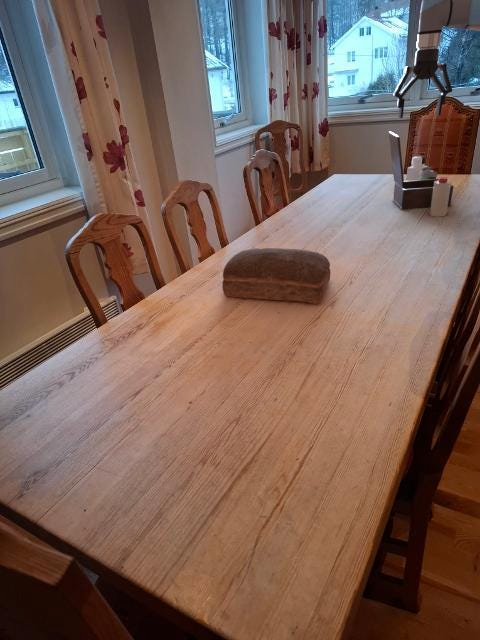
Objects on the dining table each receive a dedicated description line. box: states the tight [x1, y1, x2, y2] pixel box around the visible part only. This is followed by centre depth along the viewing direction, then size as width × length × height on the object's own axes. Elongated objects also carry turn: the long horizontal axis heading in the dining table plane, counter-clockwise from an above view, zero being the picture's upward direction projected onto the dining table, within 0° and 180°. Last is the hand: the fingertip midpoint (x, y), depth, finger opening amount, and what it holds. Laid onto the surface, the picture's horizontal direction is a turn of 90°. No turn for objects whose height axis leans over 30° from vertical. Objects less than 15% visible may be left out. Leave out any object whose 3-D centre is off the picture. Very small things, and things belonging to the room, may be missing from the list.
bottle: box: [429, 176, 452, 217], centre depth 166 cm, size 6×6×14 cm
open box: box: [392, 178, 454, 211], centre depth 181 cm, size 20×14×8 cm
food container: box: [420, 166, 438, 180], centre depth 195 cm, size 12×6×10 cm, turn 168°
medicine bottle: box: [405, 155, 429, 181], centre depth 212 cm, size 7×7×12 cm
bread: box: [222, 247, 331, 304], centre depth 123 cm, size 17×29×11 cm, turn 70°
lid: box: [388, 131, 405, 189], centre depth 175 cm, size 20×14×1 cm
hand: (419, 116), depth 159 cm, fingers open, 13 cm apart
